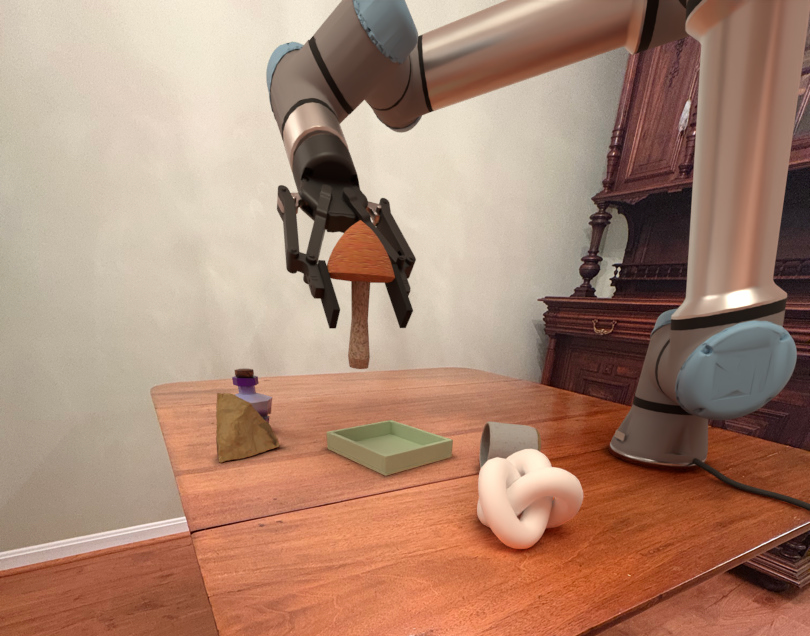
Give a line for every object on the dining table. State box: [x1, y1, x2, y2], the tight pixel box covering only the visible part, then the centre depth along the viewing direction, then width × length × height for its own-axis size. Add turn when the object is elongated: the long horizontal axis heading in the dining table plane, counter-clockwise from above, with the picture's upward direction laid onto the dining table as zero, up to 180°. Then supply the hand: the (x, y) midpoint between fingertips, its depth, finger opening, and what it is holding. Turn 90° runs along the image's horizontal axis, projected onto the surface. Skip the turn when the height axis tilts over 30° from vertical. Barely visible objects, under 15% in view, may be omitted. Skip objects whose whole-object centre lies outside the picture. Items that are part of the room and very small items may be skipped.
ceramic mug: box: [478, 420, 542, 469], centre depth 67 cm, size 11×8×8 cm
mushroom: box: [326, 220, 395, 370], centre depth 49 cm, size 8×8×15 cm
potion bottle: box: [231, 368, 273, 424], centre depth 79 cm, size 9×9×12 cm
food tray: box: [325, 419, 454, 477], centre depth 73 cm, size 17×15×3 cm
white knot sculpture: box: [476, 449, 584, 550], centre depth 48 cm, size 11×12×9 cm
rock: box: [215, 392, 281, 464], centre depth 71 cm, size 11×9×10 cm
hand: (371, 319), depth 48 cm, fingers closed on mushroom, 8 cm apart
